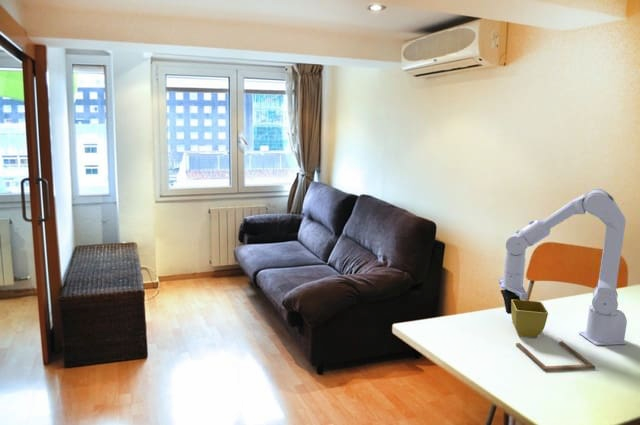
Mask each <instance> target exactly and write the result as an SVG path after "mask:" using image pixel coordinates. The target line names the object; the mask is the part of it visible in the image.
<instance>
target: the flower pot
mask: <svg viewBox="0 0 640 425" xmlns="http://www.w3.org/2000/svg"><path fill="white" fill-rule="evenodd" d="M510 315H511V320H512V324H513V327H514V329H515V332H516V333H517V336H519V337H523V338H524V337H525V338H535V339H536V338H538V337H539V336H540V335H541V334H542V332H543V331H544V329H545V327H546V323H547V319H548V316H549V312H548V309H547V308H546V307H545V306H544V304H543V302H542V301H536V300H511V314H510Z"/></svg>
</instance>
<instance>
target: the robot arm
mask: <svg viewBox="0 0 640 425" xmlns="http://www.w3.org/2000/svg"><path fill="white" fill-rule="evenodd" d="M586 212H587V213H588V214H590V215H592V216H594V217H597V218H598V219H599V220H600V221H601V222H602V223H603V224H604V225H605V233H604V234H605V235H604V240H603V241H604V242H603V246H602V247H603V248H602V254H601V260H600V262H601V263H600V269H599V276H598V282H597V285H596V286H595V287H594V289H593V291H592V300H591V304H590V305H589V306H588V307H589V309H588V314H587V316H588V317H587V324H586V331H578V334H579V335H581V336H582V337H583V338H585V339H587V341H589V342H591V343H592V344H594V345H595V346H609V345H610V346H611V345H613V346H614V345H615V346H616V345H626V344H627V342H626V341H625V338H626V331H627V324H628V321H627V320H628V319H627V316H626V315H625V313H624V312H623V311H622V310H619V309H618V306H619V302H618V298H619V297H618V290H617V284H618V276H619V269H620V263H621V257H622V250H623V242H624V238H625V236H624V235H625V230H626V223H627V222H626V216H625V215H624V213H623V212H622V210H621V208H620V206H619V205H618V203H617V202H616V200H615V198H614V197H613V196H612V195H611V194H610V193H608V192H607V191H606V190H604V189H602V188H601V189H600V188H593V189H591V190H589V191H588V192H587V193H586V194H585V193H584V194H580V195H579V196H577V197H575V198H573V199H572V200H570V201H569V202H567V203H566V204H565V205H563V206H561V207H560V208H559V209H558V210H556V211H555V212H553V213H552V214H550V215H549V216H548V217H546V218H544V219H535V220H533V219H532V220H530V221H529V222H528V225H526V226H525V227H524V228H522V229H517V230H515V233H514V234H512V235H511V236H509V238H508V239H507V240H506V242H505V249H506V252H505V253H506V256H505V263H504V273H503V277H499V278H498V285H499V288H500V289H501V290H500V293H501V295H502V298H503V301H504V307H505V313H507V314H509V315H512V314H511V300H525V301H528V296H529V293H528V292H526V289H525V287H524V286H523V285H524V276H525V266H526V250H527V249H528V247H532V246H534V245H535V244H537V243H539V242H540V241H542V240H544V239H545V238H546V237H548V236H549V235H550V233H551V229H552V228H554V227H556V226H557V225H559V224H562V222H564V221H566V220H567V219H569V218H571V217H572V216H574V215H586Z"/></svg>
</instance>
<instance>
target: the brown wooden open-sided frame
mask: <svg viewBox="0 0 640 425" xmlns="http://www.w3.org/2000/svg"><path fill="white" fill-rule="evenodd" d="M558 345H559V346H561V347H562V348H563V349H564V350H566V351H567V352H569V353H570V354H571V355H573V356H574V357H575V358H577V360H579V361H580V362H581V363H583V364H563V365H545V364H544V363H543V362H542V361H541V360H539V359H538V358H537V357H536V356H535V355H534V354H533V353H531V352H530V351H529V350H528V349H527V348H526V347H525V346H524V345H523V344H521V343H520V342H517V343H515V346H516V347H517V348H518V349H519V350H520V351H521V353H523V354H525V355H526V356H527V358H529V359H530V360H531V361H532V362H533V363H534V364H535V365H536V366H538V367H539V369H541V370H542V371H543V372H553V371H557V372H559V371H579V370H595V369H596V365H595V364H593V363H592V362H591V361H590V360H588V359H587V358H585V357H584V356H583V355H581V354H580V353H579V352H578V351H576V350H575V349H573V348H572V347H570V345H568V344H567V343H566V342H564V341H563V340H562V341H561V340H560V341H558Z"/></svg>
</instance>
